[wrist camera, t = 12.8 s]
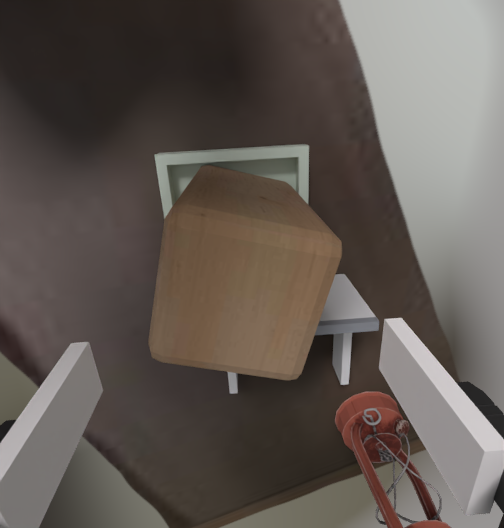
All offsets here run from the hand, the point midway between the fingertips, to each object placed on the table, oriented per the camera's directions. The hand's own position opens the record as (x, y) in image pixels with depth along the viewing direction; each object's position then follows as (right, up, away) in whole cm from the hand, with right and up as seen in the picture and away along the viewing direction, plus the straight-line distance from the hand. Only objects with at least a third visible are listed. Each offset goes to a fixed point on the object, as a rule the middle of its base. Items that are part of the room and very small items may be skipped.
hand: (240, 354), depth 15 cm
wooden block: (-1, +9, +22) cm, 24 cm away
